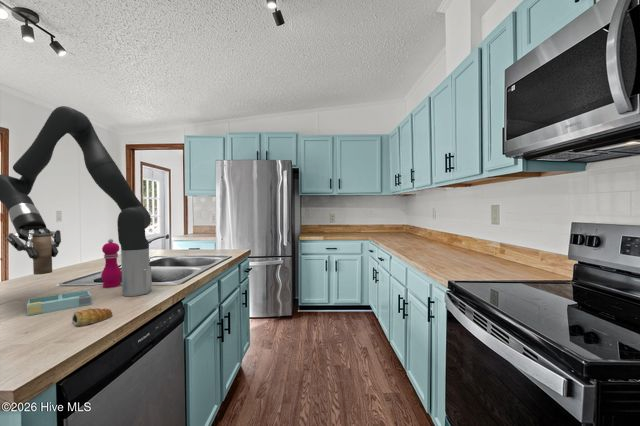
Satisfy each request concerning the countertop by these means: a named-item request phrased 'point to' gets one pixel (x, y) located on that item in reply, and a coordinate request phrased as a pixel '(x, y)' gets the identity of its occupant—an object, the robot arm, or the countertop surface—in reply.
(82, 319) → the pastry
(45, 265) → the walnut peg
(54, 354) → the countertop surface
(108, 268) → the pepper mill
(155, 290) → the countertop surface
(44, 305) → the socket block
